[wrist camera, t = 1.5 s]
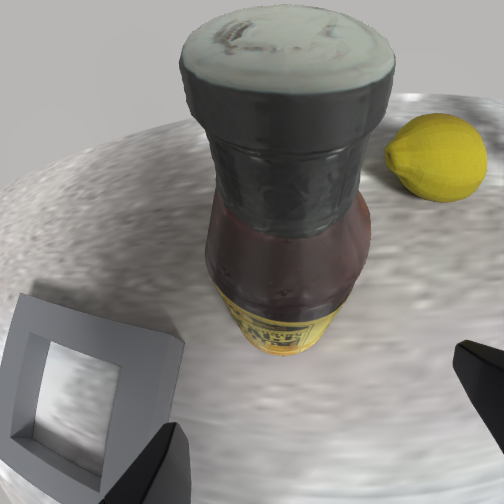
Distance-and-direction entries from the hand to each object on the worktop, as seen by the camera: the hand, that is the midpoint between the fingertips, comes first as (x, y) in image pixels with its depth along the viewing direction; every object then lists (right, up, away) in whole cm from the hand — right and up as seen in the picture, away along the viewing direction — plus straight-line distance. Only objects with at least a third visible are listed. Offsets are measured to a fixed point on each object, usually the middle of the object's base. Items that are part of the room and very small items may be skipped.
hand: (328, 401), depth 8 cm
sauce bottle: (0, 0, +14) cm, 14 cm away
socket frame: (-16, -9, +12) cm, 22 cm away
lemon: (+14, +11, +18) cm, 26 cm away
